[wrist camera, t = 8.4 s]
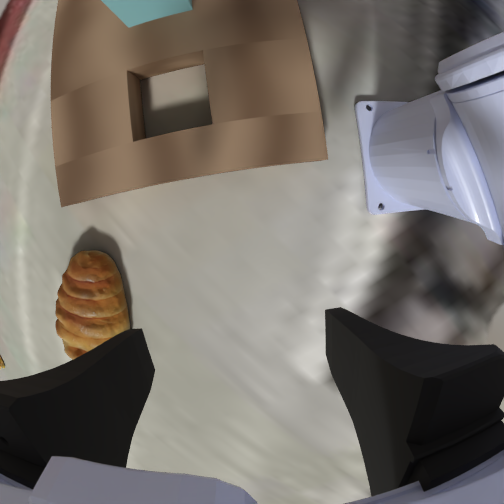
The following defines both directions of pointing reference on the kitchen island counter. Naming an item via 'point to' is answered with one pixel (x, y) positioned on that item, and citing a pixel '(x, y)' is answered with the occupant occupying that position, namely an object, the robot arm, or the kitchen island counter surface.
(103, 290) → the pastry
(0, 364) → the frog figurine
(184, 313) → the kitchen island counter surface
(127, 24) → the teal block
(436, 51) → the kitchen island counter surface
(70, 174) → the walnut pocket plate
